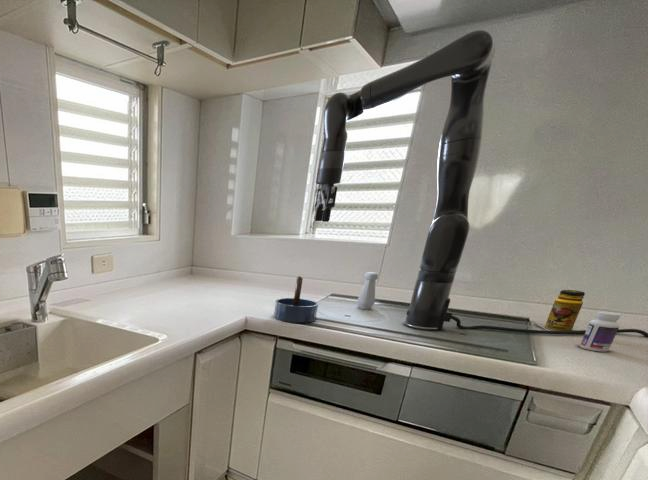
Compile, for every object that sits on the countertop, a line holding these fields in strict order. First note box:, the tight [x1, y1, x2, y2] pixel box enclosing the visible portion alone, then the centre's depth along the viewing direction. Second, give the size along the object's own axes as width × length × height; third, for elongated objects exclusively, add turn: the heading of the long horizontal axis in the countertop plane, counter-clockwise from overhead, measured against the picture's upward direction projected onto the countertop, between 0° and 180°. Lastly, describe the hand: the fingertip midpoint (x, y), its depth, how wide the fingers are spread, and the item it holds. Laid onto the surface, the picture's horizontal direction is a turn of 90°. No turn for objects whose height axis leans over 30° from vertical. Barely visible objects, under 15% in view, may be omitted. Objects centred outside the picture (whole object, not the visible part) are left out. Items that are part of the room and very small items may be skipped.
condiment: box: [535, 289, 586, 331], centre depth 123 cm, size 7×8×12 cm
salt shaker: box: [356, 271, 379, 310], centre depth 147 cm, size 6×6×13 cm
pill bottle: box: [579, 311, 622, 353], centre depth 105 cm, size 5×5×10 cm
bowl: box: [273, 297, 319, 324], centre depth 133 cm, size 13×13×6 cm
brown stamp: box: [293, 275, 304, 306], centre depth 132 cm, size 5×5×13 cm
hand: (321, 221), depth 136 cm, fingers open, 8 cm apart
